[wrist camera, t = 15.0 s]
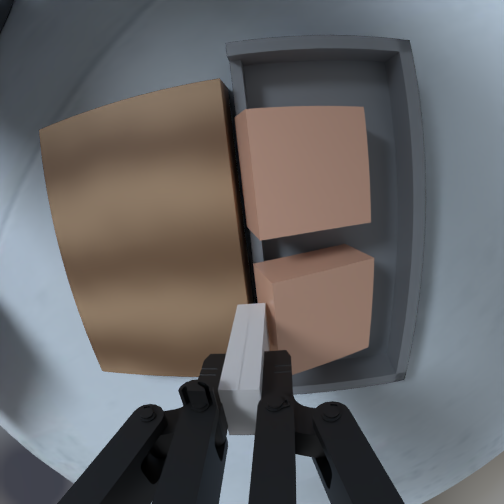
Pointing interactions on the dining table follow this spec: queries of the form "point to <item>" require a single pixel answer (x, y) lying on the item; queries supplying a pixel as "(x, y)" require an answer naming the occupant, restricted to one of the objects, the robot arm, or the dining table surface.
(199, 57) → the dining table surface
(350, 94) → the tray
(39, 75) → the dining table surface
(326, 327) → the tile
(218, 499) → the robot arm
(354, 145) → the tile
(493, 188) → the dining table surface
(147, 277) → the brown wooden board
